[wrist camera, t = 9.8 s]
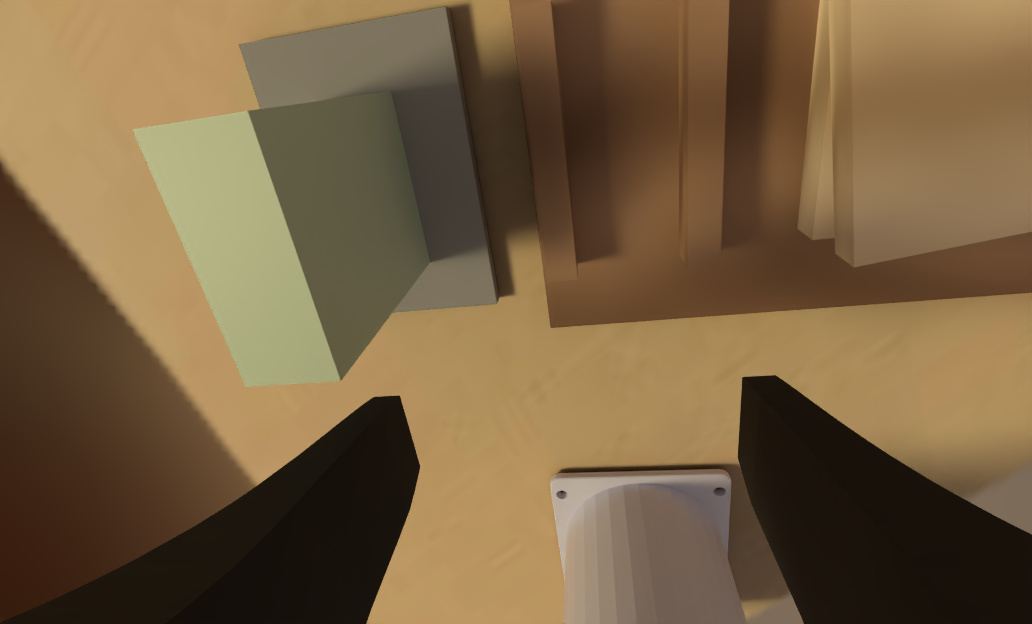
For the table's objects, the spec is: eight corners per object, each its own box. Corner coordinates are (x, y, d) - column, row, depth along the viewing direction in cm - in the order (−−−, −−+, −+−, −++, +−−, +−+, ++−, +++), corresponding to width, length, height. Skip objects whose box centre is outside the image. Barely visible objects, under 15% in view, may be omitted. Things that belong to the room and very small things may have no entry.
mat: (499, 297, 20) (496, 304, 19) (336, 311, 21) (330, 317, 21) (449, 8, 16) (445, 6, 15) (249, 45, 17) (238, 44, 16)
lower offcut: (968, 211, 16) (997, 222, 15) (797, 228, 17) (812, 239, 16) (1034, -58, 13) (1075, -69, 12) (821, -22, 14) (842, -29, 13)
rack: (1076, 276, 17) (1150, 307, 15) (552, 316, 20) (548, 347, 18) (1259, -242, 12) (1420, -314, 9) (502, -83, 15) (488, -110, 12)
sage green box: (430, 262, 19) (340, 380, 12) (368, 268, 19) (245, 386, 12) (390, 91, 16) (247, 110, 9) (321, 102, 17) (132, 129, 10)
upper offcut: (1024, 214, 15) (1060, 225, 13) (834, 253, 16) (854, 267, 15) (1062, -73, 12) (1110, -86, 11) (828, 0, 13) (850, -6, 12)
